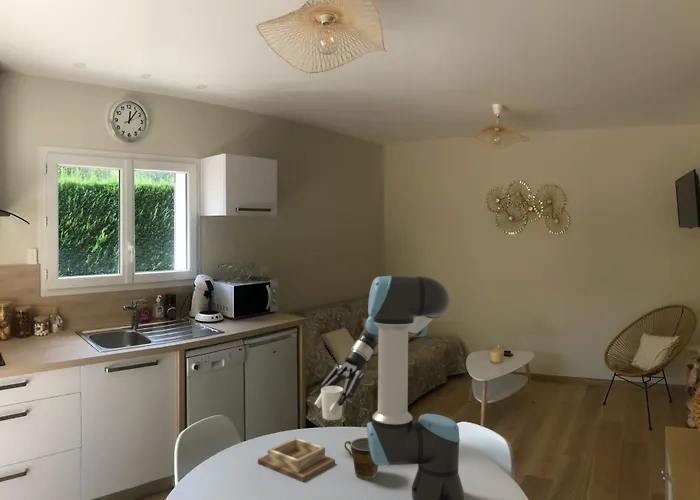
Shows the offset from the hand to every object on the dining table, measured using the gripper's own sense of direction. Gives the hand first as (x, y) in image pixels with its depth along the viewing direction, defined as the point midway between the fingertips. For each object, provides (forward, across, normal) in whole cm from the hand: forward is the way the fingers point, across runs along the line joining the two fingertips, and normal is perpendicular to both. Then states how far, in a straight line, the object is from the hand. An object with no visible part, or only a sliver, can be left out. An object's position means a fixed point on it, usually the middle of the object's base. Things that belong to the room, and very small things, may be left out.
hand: (324, 409), depth 181 cm
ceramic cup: (+12, -20, -10) cm, 25 cm away
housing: (+20, -1, -2) cm, 20 cm away
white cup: (0, 0, -5) cm, 5 cm away
